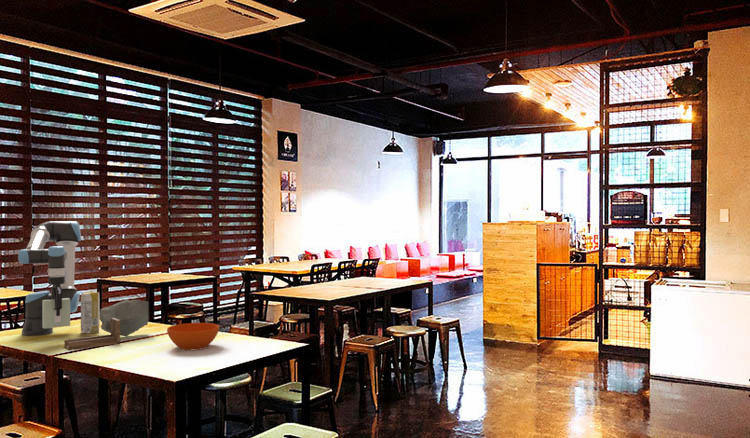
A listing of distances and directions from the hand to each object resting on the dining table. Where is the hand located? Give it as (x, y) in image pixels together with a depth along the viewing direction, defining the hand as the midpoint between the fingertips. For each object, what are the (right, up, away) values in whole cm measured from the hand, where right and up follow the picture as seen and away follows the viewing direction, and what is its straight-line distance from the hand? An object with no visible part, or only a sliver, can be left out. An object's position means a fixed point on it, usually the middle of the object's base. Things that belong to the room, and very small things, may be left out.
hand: (56, 321), depth 301 cm
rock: (+28, -12, +18) cm, 35 cm away
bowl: (+73, -12, -8) cm, 75 cm away
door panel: (0, -3, 0) cm, 3 cm away
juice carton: (+3, -12, +30) cm, 32 cm away
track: (+21, -11, -4) cm, 24 cm away
